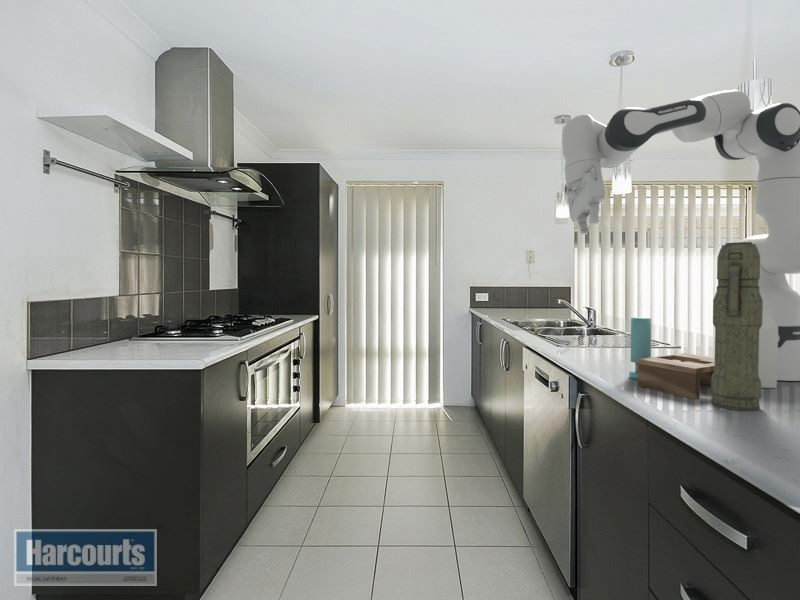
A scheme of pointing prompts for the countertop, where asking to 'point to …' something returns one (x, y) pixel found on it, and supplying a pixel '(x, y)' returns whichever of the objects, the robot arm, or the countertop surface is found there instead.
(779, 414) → the countertop surface
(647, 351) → the teal necked cylinder
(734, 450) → the countertop surface
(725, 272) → the thermos
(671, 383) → the keyhole bridge
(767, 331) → the milk carton
